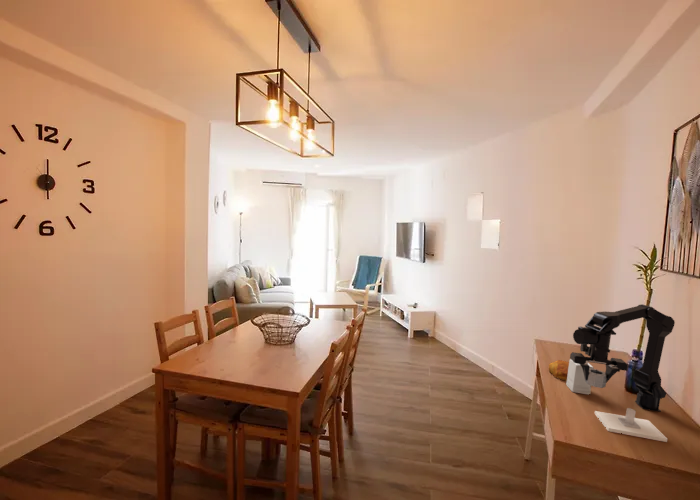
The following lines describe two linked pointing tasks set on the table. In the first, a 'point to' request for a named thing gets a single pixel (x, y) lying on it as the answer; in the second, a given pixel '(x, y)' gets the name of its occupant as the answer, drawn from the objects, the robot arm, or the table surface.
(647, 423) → the shaft stand
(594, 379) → the tube
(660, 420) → the table surface
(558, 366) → the croissant
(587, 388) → the supplement box
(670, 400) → the table surface
